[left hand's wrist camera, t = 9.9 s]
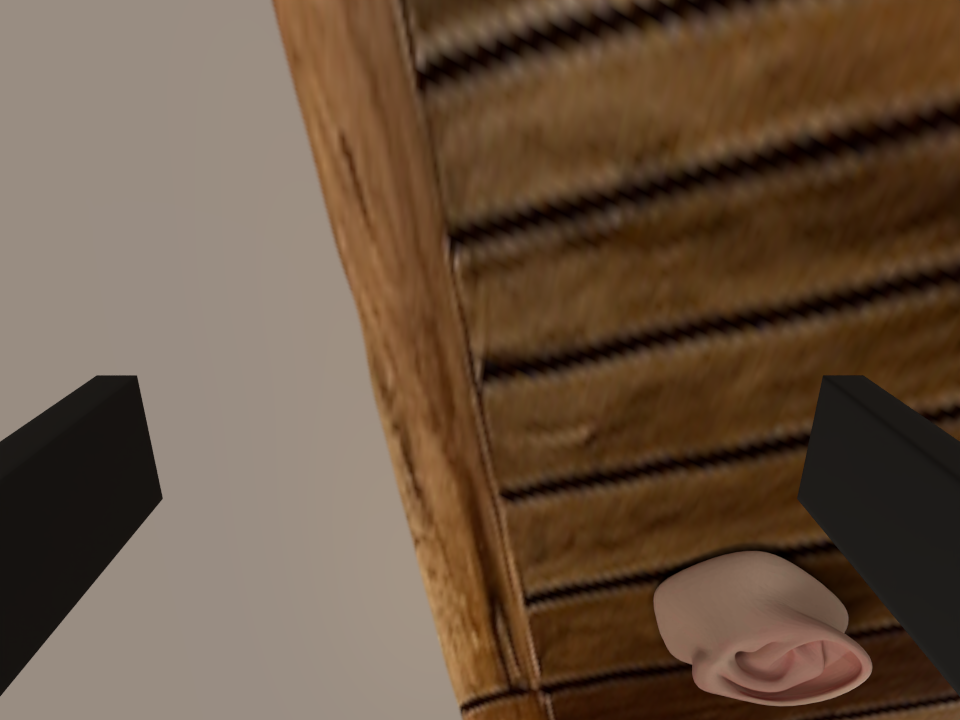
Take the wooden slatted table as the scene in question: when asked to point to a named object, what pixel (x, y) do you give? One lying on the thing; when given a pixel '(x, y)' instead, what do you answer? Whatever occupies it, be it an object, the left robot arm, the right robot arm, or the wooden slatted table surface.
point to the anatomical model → (759, 630)
